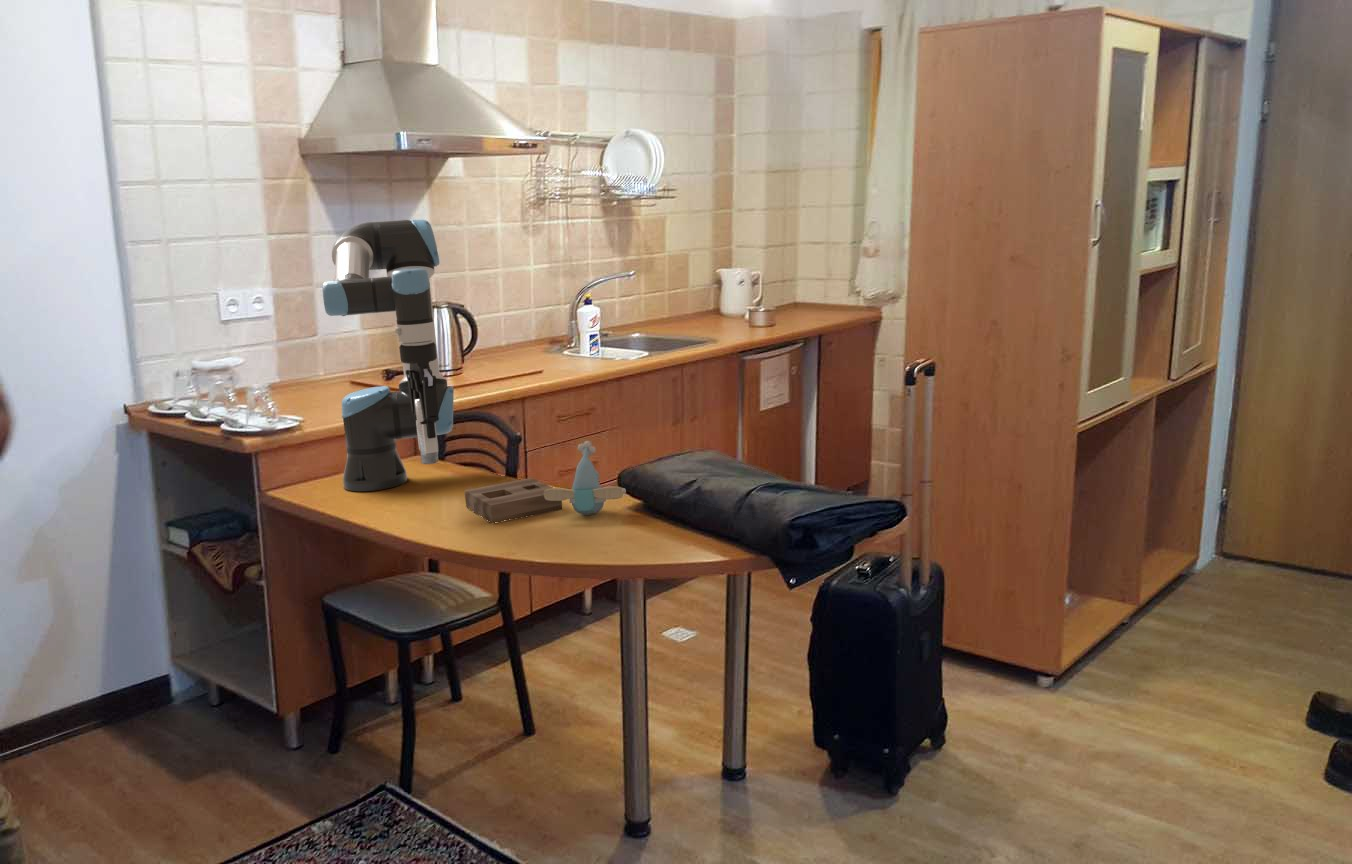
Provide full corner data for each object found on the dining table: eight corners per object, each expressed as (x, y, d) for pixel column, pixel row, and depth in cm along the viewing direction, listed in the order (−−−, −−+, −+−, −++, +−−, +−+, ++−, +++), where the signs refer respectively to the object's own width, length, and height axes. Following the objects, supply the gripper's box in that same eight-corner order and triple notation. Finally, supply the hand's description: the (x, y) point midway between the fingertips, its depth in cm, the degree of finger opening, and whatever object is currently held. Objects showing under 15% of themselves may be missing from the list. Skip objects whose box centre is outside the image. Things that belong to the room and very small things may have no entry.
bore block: (466, 507, 245) (464, 490, 244) (533, 494, 252) (531, 477, 252) (492, 523, 231) (490, 505, 230) (562, 509, 239) (560, 491, 238)
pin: (419, 462, 240) (412, 398, 237) (435, 459, 242) (428, 396, 239) (424, 465, 237) (417, 401, 234) (440, 462, 239) (434, 398, 236)
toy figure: (631, 505, 238) (626, 437, 235) (624, 520, 228) (619, 449, 225) (555, 508, 240) (549, 440, 237) (545, 522, 230) (539, 452, 227)
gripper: (388, 341, 239) (400, 446, 244) (411, 349, 225) (423, 460, 230) (422, 336, 242) (433, 440, 248) (447, 344, 228) (458, 454, 234)
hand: (428, 450), depth 239 cm, fingers closed on pin, 3 cm apart
